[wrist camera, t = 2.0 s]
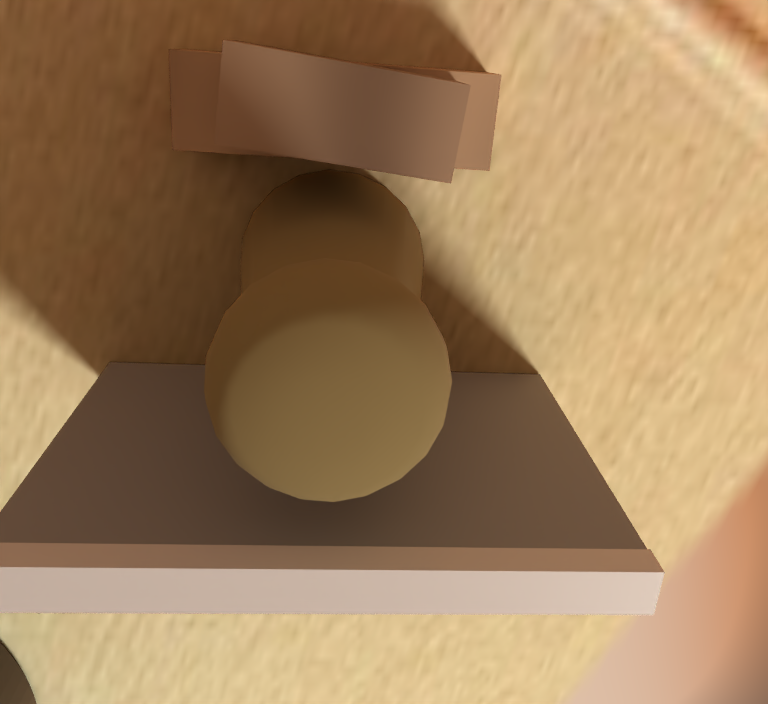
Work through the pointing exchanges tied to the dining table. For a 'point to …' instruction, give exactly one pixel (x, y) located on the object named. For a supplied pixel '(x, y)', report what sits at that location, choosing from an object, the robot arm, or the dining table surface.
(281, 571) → the board
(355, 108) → the offcut top
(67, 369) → the dining table surface
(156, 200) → the dining table surface
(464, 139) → the offcut low
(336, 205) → the cork
